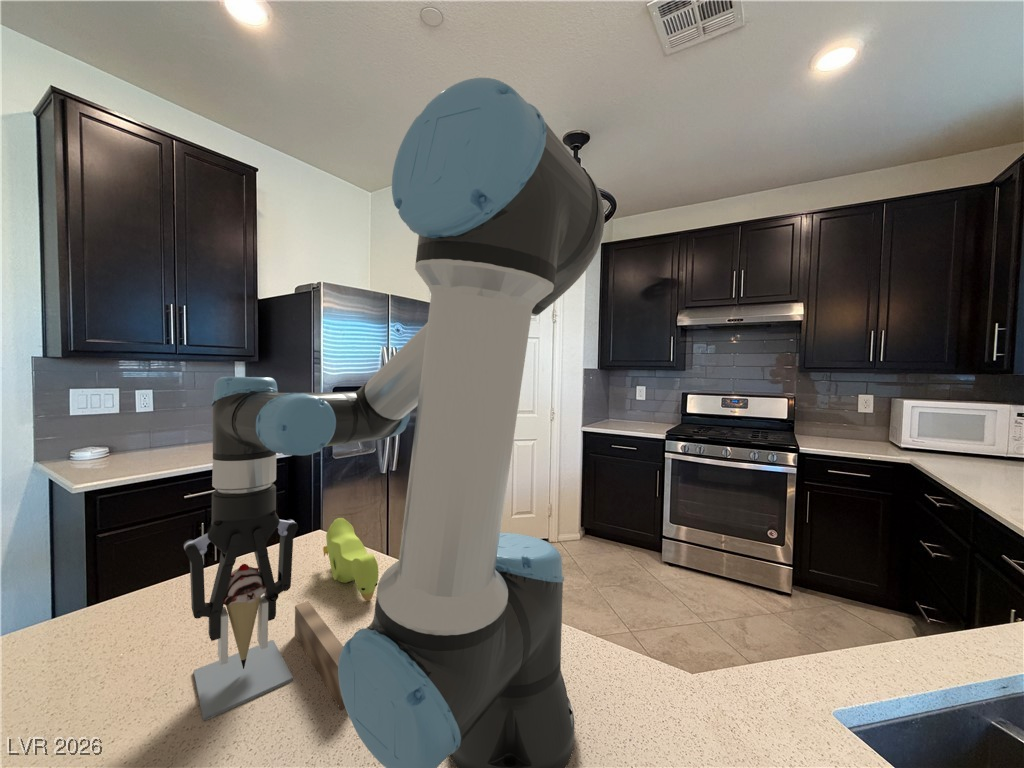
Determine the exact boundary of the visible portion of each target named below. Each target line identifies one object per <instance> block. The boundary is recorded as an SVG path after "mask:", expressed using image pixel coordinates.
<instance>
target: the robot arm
mask: <svg viewBox="0 0 1024 768" xmlns="http://www.w3.org/2000/svg"><path fill="white" fill-rule="evenodd" d="M391 176H392V177H391V194H392V195H391V196H392V200H393V205H394V206H395V208H396V209H397V210H398V215H399V218H400V219H401V220H402V222H403V223H405V224H406V226H407V227H408V228H409V230H410V231H412V232H413V233H414V234H417V235H418V240H417V249H416V255H415V256H416V258H415V267H414V270H415V271H416V272H417V274H418V275H419V277H420V278H421V280H422V281H423V282H424V283H425V284H426V286H427V287H428V289H429V292H430V300H429V308H428V315H427V317H428V318H427V322H426V323H425V324H424V325H423V326H422V327H421V328H420V329H419V330H418V331H417V332H416V333H415V334H414V335H412V337H411V338H410V339H408V341H407V342H406V343H405V344H404V345H403V346H402V347H401V348H400V349H398V351H396V353H395V354H393V356H392V357H390V359H389V360H388V361H386V363H384V364H383V366H381V367H380V369H379V370H377V372H375V374H373V376H372V377H371V378H370V379H368V381H367V382H365V383H364V384H363V385H361V387H360V388H358V390H355V391H335V392H279V390H278V384H277V383H278V382H277V381H276V380H275V379H274V378H273V377H265V376H263V377H261V376H260V377H258V376H250V377H249V376H221V377H218V379H216V380H215V382H214V383H213V384H214V385H213V395H212V401H211V407H212V478H211V479H212V480H211V481H212V482H211V483H212V484H211V486H212V488H214V489H215V490H214V491H213V492H212V493H211V521H210V525H209V527H208V528H207V530H206V533H205V534H203V535H201V536H199V537H197V538H196V539H187V540H186V541H184V543H183V544H182V545H183V549H184V551H185V554H186V556H187V558H188V560H189V573H190V575H189V576H190V577H189V578H190V597H191V598H190V600H191V601H190V604H191V611H192V614H193V617H194V619H201V618H208V637H209V639H210V641H211V642H214V641H216V640H217V656H218V661H219V660H220V664H221V665H223V664H226V663H228V657H229V614H228V611H227V607H226V606H225V605H224V604H223V602H222V601H223V599H224V597H226V593H227V589H228V585H229V581H230V577H231V573H232V572H233V569H234V565H235V563H236V560H237V558H238V557H239V556H242V555H244V554H245V553H254V556H255V560H256V564H257V568H258V571H259V572H260V573H261V576H262V581H263V583H264V585H265V586H266V591H265V593H264V594H263V595H261V598H260V602H259V606H258V610H257V643H258V645H260V647H261V649H264V648H267V647H268V641H269V622H270V621H273V620H275V619H276V615H277V601H278V599H279V595H280V594H281V593H283V592H287V591H289V590H290V589H291V585H292V571H293V569H292V568H293V552H294V551H293V549H294V538H295V537H296V534H297V531H298V529H299V524H298V523H297V522H295V520H294V519H291V518H289V519H287V520H285V519H280V518H279V516H278V514H277V486H276V484H274V482H276V480H277V454H279V455H284V456H291V457H292V456H309V455H313V454H315V453H318V452H319V451H321V450H322V449H323V448H325V447H326V448H327V447H330V446H331V447H332V446H334V447H335V446H339V445H340V446H341V445H343V444H351V443H353V444H354V443H359V442H368V441H369V442H370V441H381V440H386V439H388V438H392V437H395V436H398V435H400V434H402V433H403V432H404V431H405V430H406V429H407V425H408V423H409V421H410V418H411V412H412V411H413V410H414V409H416V414H415V415H416V417H415V424H414V425H415V426H414V431H413V432H414V433H413V442H412V447H411V457H410V465H409V466H410V467H409V473H408V483H407V490H406V497H405V498H406V499H405V507H404V515H403V523H402V531H401V539H400V547H399V554H398V560H397V561H396V562H395V563H392V564H391V565H390V566H389V567H388V568H387V569H386V570H385V571H384V572H383V574H382V575H381V576H380V579H379V580H378V582H377V588H376V596H375V597H376V599H375V605H374V614H373V617H372V618H373V619H372V622H371V623H370V624H369V626H367V627H365V628H364V627H363V628H360V629H358V630H357V631H356V632H355V633H353V636H352V637H351V638H349V639H347V641H346V642H345V643H344V645H343V648H342V650H341V653H340V657H339V663H338V678H339V686H340V691H341V695H342V699H343V702H344V705H345V708H344V709H345V711H346V713H347V716H348V717H349V720H350V721H351V723H352V726H353V728H354V730H355V732H356V734H357V735H358V737H359V739H360V740H361V742H362V743H363V744H364V746H365V748H366V749H367V750H368V751H369V752H370V754H371V755H372V756H373V757H374V758H375V759H376V761H377V762H379V763H380V764H381V765H382V766H383V767H384V768H438V767H439V766H440V765H441V764H442V763H443V762H444V761H445V760H446V758H448V757H449V756H450V755H451V757H452V760H453V762H454V763H455V765H456V767H457V768H565V767H567V766H568V764H569V762H570V760H571V758H572V756H571V754H572V755H573V752H572V751H574V748H573V747H575V715H574V711H573V707H572V703H571V701H570V698H569V696H568V692H567V686H566V684H565V683H566V682H565V681H564V676H563V673H562V671H561V668H562V667H561V666H562V662H561V661H562V660H561V659H562V658H561V656H562V625H563V623H562V622H563V621H562V620H563V594H564V593H563V591H564V589H563V587H564V586H563V585H564V581H565V577H564V576H563V559H562V555H561V553H560V551H559V550H558V549H557V548H556V547H555V546H554V545H553V544H551V543H550V542H549V541H546V540H543V539H541V538H538V537H534V536H531V535H526V534H520V533H512V532H501V530H502V525H503V524H502V523H503V522H502V521H503V515H504V508H505V501H506V494H507V488H508V481H509V473H510V468H511V467H510V466H511V461H512V452H513V445H514V439H515V438H514V437H515V433H516V432H515V431H516V426H517V425H516V424H517V418H518V412H519V411H518V410H519V406H520V396H521V391H522V382H523V375H524V368H525V362H526V355H527V348H528V340H529V334H530V333H529V332H530V327H531V322H532V321H531V320H532V317H537V316H539V315H540V314H541V313H542V312H544V311H545V310H546V309H548V308H549V307H550V306H551V305H552V304H554V303H555V302H556V301H557V300H558V299H559V298H560V297H562V296H563V295H564V294H565V293H566V292H567V291H568V290H570V288H571V287H572V286H573V285H575V283H576V282H577V281H578V280H579V279H580V278H581V276H582V275H583V274H584V273H585V272H586V271H587V269H588V267H589V266H590V264H591V263H592V261H593V260H594V258H595V257H596V254H597V253H598V251H599V247H600V245H601V242H602V240H603V239H602V238H603V235H604V228H605V208H604V203H603V198H602V194H601V192H600V190H599V188H598V186H597V184H596V183H595V181H594V180H593V178H592V177H591V175H590V174H589V173H588V172H587V171H586V169H584V168H583V167H582V166H581V165H580V164H579V162H577V160H576V159H575V158H574V156H573V155H572V153H571V152H570V151H569V150H568V149H567V148H566V147H565V145H564V144H563V143H562V141H561V140H560V138H559V137H558V136H557V135H556V134H555V132H554V131H553V130H552V129H551V128H550V127H549V125H548V123H547V122H546V121H545V119H544V117H543V115H542V113H541V112H540V111H539V109H538V108H537V107H536V106H534V105H533V104H531V103H528V102H527V101H526V100H525V99H524V98H523V97H522V96H521V95H520V94H519V93H518V92H517V91H516V89H514V88H513V87H512V86H510V85H508V84H507V83H505V82H503V81H501V80H499V79H496V78H490V77H473V78H468V79H465V80H462V81H459V82H457V83H454V84H453V85H450V86H449V87H447V88H446V89H444V90H443V91H442V92H440V93H439V94H437V95H436V96H434V98H433V99H431V100H430V101H429V103H427V105H426V106H425V107H424V108H423V110H422V112H421V113H420V114H419V115H418V116H416V117H415V119H414V120H413V121H412V123H411V125H410V126H409V127H408V129H407V131H406V133H405V134H404V137H403V139H402V141H401V143H400V146H399V148H398V150H397V154H396V158H395V161H394V165H393V169H392V175H391ZM416 407H417V408H416ZM276 530H277V533H278V534H279V546H278V547H279V548H278V564H277V565H278V567H277V581H275V580H274V575H273V571H272V567H271V566H272V565H271V562H270V557H269V552H268V547H267V543H268V541H269V539H271V537H272V535H273V534H274V533H275V531H276ZM209 543H212V544H213V546H215V547H216V548H217V549H218V550H220V551H221V552H220V556H219V564H218V567H217V569H216V570H217V571H216V574H215V579H214V583H213V587H212V592H211V595H210V598H209V599H210V600H209V602H205V601H206V597H205V594H206V593H205V571H204V570H205V567H204V565H205V563H204V560H203V555H205V554H206V553H207V551H208V548H207V547H208V545H209ZM570 757H571V758H570ZM569 759H570V760H569ZM566 765H567V766H566Z"/></svg>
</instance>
